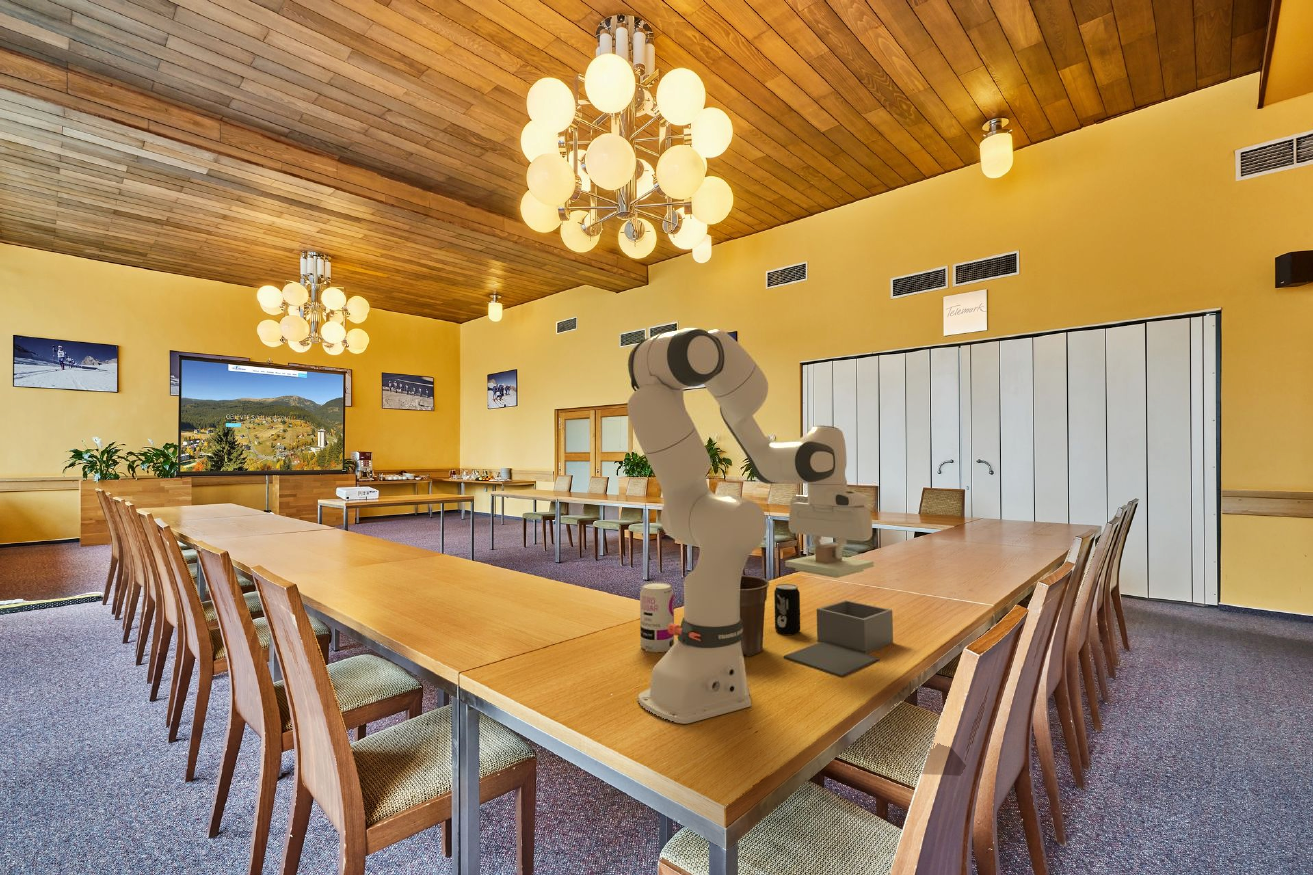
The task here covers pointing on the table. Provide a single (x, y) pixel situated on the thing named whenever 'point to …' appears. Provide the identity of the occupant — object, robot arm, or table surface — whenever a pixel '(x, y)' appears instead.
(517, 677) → the table surface
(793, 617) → the beverage can
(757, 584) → the plant pot
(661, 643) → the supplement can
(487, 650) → the table surface
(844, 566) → the lid
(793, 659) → the rubber mat
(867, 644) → the storage box
